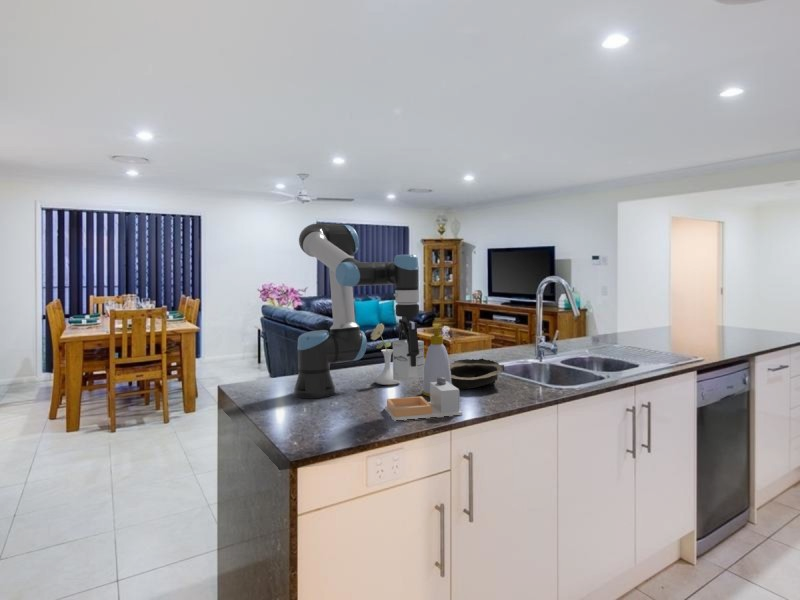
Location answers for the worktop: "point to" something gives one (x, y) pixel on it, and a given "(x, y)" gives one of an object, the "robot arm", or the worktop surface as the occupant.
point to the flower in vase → (387, 373)
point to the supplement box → (406, 362)
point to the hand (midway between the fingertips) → (408, 373)
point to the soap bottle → (436, 361)
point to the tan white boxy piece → (427, 403)
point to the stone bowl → (474, 373)
